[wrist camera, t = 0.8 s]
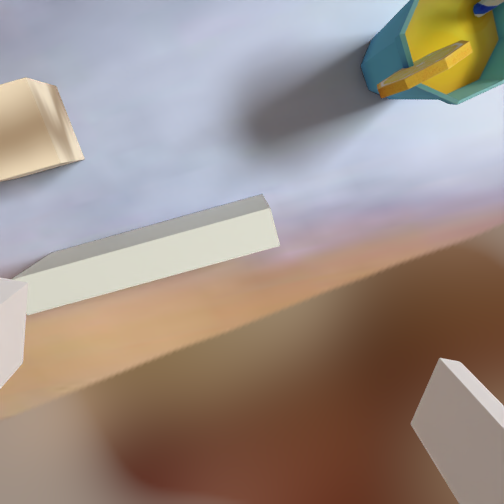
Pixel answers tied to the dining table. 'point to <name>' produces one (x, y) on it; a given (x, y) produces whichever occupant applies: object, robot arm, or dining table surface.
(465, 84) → the cup
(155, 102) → the dining table surface
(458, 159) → the dining table surface
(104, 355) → the dining table surface
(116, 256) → the board
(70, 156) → the birch block
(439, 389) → the robot arm
